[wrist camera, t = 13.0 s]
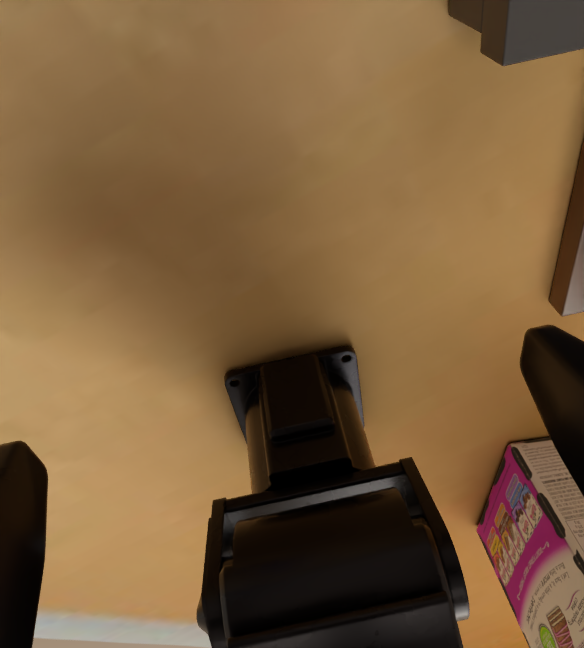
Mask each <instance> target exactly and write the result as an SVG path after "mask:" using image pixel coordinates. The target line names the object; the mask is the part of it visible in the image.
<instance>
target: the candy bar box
mask: <svg viewBox="0 0 584 648" xmlns="http://www.w3.org/2000/svg"><path fill="white" fill-rule="evenodd" d="M477 533H478V535H479V537H480V539H481V541H482V543H483V546H484V548H485V550H486V552H487V555H488V557H489V559H490V561H491V563H492V566H493V568H494V570H495V573H496V575H497V577H498V579H499V581H500V583H501V585H502V588H503V590H504V592H505V594H506V596H507V599H508V601H509V603H510V605H511V607H512V610H513V612H514V614H515V616H516V618H517V621H518V624H519V626H520V628H521V630H522V632H523V634H524V637H525V639H526V641H527V643H528V645H529V647H530V648H584V497H583V495H582V493H581V492H580V490H579V488H578V486H577V485H576V483H575V481H574V480H573V478H572V476H571V475H570V473H569V471H568V469H567V468H566V466H565V464H564V463H563V461H562V459H561V457H560V456H559V454H558V452H557V450H556V448H555V446H554V444H553V442H552V440H551V438H550V437H548V438H541V439H536V440H530V441H522V442H516V443H511V444H509V445H508V446H507V449H506V452H505V454H504V457H503V459H502V462H501V465H500V468H499V471H498V473H497V476H496V479H495V481H494V484H493V487H492V490H491V493H490V495H489V498H488V501H487V504H486V507H485V509H484V512H483V515H482V517H481V520H480V523H479V525H478V528H477Z"/></svg>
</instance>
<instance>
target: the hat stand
mask: <svg viewBox="0 0 584 648" xmlns="http://www.w3.org/2000/svg"><path fill="white" fill-rule="evenodd" d="M549 302H550V303H551V305H552V306H553V307H554V308H555V309H556V311H557V312H558V313H559V314H560V315H561V316H567V315H571V314H576V313H581V312H584V141H583V145H582V150H581V155H580V159H579V164H578V169H577V173H576V178H575V183H574V187H573V192H572V197H571V201H570V206H569V211H568V215H567V220H566V225H565V229H564V234H563V239H562V243H561V248H560V253H559V257H558V262H557V267H556V271H555V276H554V281H553V285H552V290H551V295H550V299H549Z"/></svg>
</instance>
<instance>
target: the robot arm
mask: <svg viewBox="0 0 584 648" xmlns="http://www.w3.org/2000/svg"><path fill="white" fill-rule="evenodd" d="M345 355H348V356H346V357H343V356H345ZM520 368H521V372H522V375H523V377H524V379H525V382H526V384H527V386H528V388H529V391H530V393H531V395H532V397H533V400H534V402H535V404H536V406H537V409H538V411H539V413H540V415H541V418H542V420H543V422H544V425H545V427H546V429H547V431H548V434H549V436H550V438H551V440H552V442H553V444H554V446H555V448H556V450H557V452H558V454H559V456H560V457H561V459H562V461H563V463H564V464H565V466H566V468H567V469H568V471H569V473H570V475H571V476H572V478H573V480H574V481H575V483H576V485H577V486H578V488H579V490H580V492H581V493H582V495H583V497H584V341H582V340H580V339H578V338H576V337H574V336H572V335H571V334H569V333H567V332H565V331H563V330H561V329H559V328H557V327H555V326H553V325H544V326H539V327H534V328H530V329H528V330H527V331H526V333H525V336H524V341H523V346H522V352H521V357H520ZM224 378H225V387H226V389H227V392H228V395H229V397H230V400H231V403H232V405H233V408H234V411H235V414H236V416H237V419H238V422H239V424H240V427H241V430H242V432H243V435H244V438H245V440H246V443H247V447H248V457H249V468H250V478H251V489H252V494H250V495H245V496H240V497H236V498H231V499H226V498H221V499H217V500H213V505H212V515H211V518H209V522H208V532H207V542H206V553H205V563H204V573H203V583H202V593H201V597H200V600H199V604H198V608H197V622H198V626H199V627H200V628H201V629H202V630H203V631H205V632H206V633H207V634H208V635H209V639H210V642H211V646H212V648H463V644H462V640H461V636H460V632H459V628H458V624H457V621H461V620H465V619H468V617H469V601H468V595H467V590H466V585H465V581H464V577H463V573H462V570H461V566H460V563H459V560H458V557H457V554H456V551H455V548H454V545H453V542H452V540H451V537H450V535H449V532H448V530H447V528H446V526H445V523H444V521H443V519H442V517H441V515H440V513H439V511H438V509H437V507H436V505H435V503H434V501H433V499H432V497H431V495H430V493H429V491H428V489H427V487H426V485H425V483H424V481H423V479H422V477H421V475H420V473H419V471H418V469H417V467H416V465H415V463H414V461H413V459H412V457H409V458H404V459H400V460H399V462H396V463H391V464H387V465H382V466H378V467H375V464H374V460H373V457H372V454H371V451H370V447H369V444H368V441H367V438H366V434H365V431H364V418H363V409H362V400H361V392H360V383H359V374H358V365H357V356H356V354H355V351H354V348H352V347H351V346H341V347H336V348H331V349H327V350H322V351H318V352H313V353H309V354H304V355H299V356H295V357H290V358H286V359H281V360H277V361H272V362H268V363H263V364H258V365H254V366H249V367H245V368H240V369H236V370H231V371H229V372H227V373H226V374H225V376H224ZM235 379H237V380H236V381H232V380H235ZM47 491H48V474H47V470H46V467H45V465H44V464H43V463H42V462H41V460H40V459H39V458H38V457H37V456H36V455H35V453H34V452H33V451H32V450H31V449H30V447H29V446H28V445H27V444H26V443H25V442H22V441H15V442H10V443H6V444H1V445H0V648H32V644H33V637H34V630H35V623H36V617H37V610H38V603H39V596H40V590H41V583H42V576H43V569H44V561H45V547H46V519H47Z"/></svg>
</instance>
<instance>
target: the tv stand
mask: <svg viewBox="0 0 584 648" xmlns="http://www.w3.org/2000/svg"><path fill="white" fill-rule="evenodd" d="M449 15H450V16H451V17H453V18H455V19H457V20H459V21H460V22H462V23H464V24H466V25H468V26H469V27H471V28H473V29H475V30H477V31H479V32H480V33H482V35H481V49H480V51H481V53H482V54H484V55H486V56H487V57H489V58H490V59H492V60H494V61H495V62H497V63H499V64H500V65H502V66H506V65H511V64H515V63H520V62H525V61H529V60H534V59H538V58H543V57H547V56H552V55H557V54H561V53H566V52H570V51H575V50H579V49H584V0H450V1H449Z"/></svg>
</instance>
